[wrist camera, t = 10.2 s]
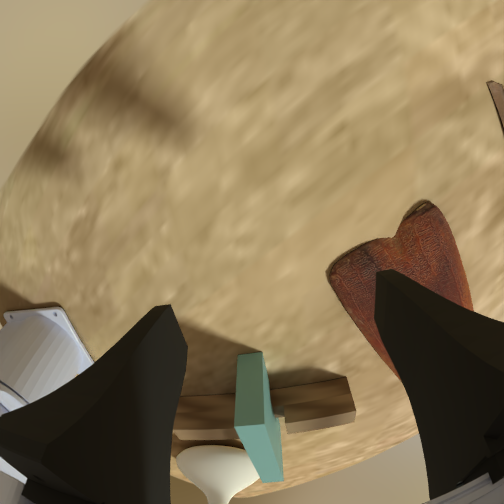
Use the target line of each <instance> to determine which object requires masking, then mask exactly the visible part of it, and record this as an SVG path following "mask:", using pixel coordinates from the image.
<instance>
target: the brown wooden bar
mask: <svg viewBox="0 0 504 504" xmlns="http://www.w3.org/2000/svg"><path fill="white" fill-rule="evenodd" d="M235 398H236V394H223V395H208V396H185V397H180V398H179V402H178V407H177V411H176V415H175V420H174V426H173V431H174V433H175V434H176V435H177V437H178V438H179V439H180V440H224V439H240V438H239V436H238V434H237V432H236V430H235V427H234V419H235ZM270 400H271V404H272V408H273V412H274V416H275V418H279V417H285V425H286V429H287V434H292V433H299V432H306V431H312V430H318V429H324V428H329V427H334V426H339V425H344V424H349V423H353V422H355V415H356V408H355V405H354V401H353V398H352V394H351V391H350V387H349V384H348V381H347V377H344V378H339V379H334V380H329V381H324V382H319V383H313V384H307V385H301V386H294V387H288V388H281V389H273V390H270Z"/></svg>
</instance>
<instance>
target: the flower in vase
mask: <svg viewBox="0 0 504 504" xmlns="http://www.w3.org/2000/svg"><path fill="white" fill-rule="evenodd" d="M176 462H177V466H178V468H179V469H180V471H181V472H182V473H183V474H184V475H185V476H186V477H187V478H188V479H189V480H190V481H191V482H192V483H194V484H195V485H196V486H197V487H198V488H200V489H201V490H202V491H203V492H204V493H205V495H206V497H207V499H208V504H228V503H229V501H230V499H231V497H233V496H234V495H235V494H236V493H238V492H239V491H241V490H243V489H244V488H246V487H248V486H249V485H251V484H252V483H254V482H255V481H256V480H258V479H259V478H260V477H259V475H258V473H257V471H256V469H255V467H254V465H253V463H252V462H251V460H250V458H249V456H248V454H247V452H246V450H243V449H239V448H235V447H229V446H219V445H203V446H195V447H190V448H187V449H185V450H183V451H182V452H181V453H180V454H178V456H177V457H176Z"/></svg>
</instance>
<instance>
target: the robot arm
mask: <svg viewBox="0 0 504 504" xmlns="http://www.w3.org/2000/svg"><path fill="white" fill-rule="evenodd" d="M4 318H5V320H6V321H7V323H6V324H5V325H4V327H3V328H2V329H1V330H0V504H171V503H170V458H171V443H172V432H173V426H174V420H175V415H176V411H177V407H178V402H179V398H180V394H181V389H182V385H183V380H184V376H185V371H186V362H187V350H188V346H187V344H186V341H185V339H184V337H183V334H182V332H181V329H180V327H179V324H178V322H177V319H176V317H175V314H174V312H173V309H172V307H171V304H170V305H161V306H155V307H154V308H152V309H151V310H150V311H149V312H148V313H147V314H146V315H145V316H144V317H143V318H142V319H141V320H139V321H138V322H137V323H136V324H135V325H134V326H133V327H132V328H131V329H130V330H129V331H128V332H127V333H126V334H125V335H124V336H123V337H122V338H121V339H120V340H119V341H118V342H117V343H116V344H115V345H114V346H113V347H111V348H110V349H109V350H108V351H107V352H106V353H105V354H104V355H103V356H102V357H101V358H99V359H98V360H97V361H96V362H95V363H94V361H93V360H92V358H91V357H90V355H89V353H88V352H87V350H86V348H85V347H84V345H83V343H82V342H81V340H80V338H79V337H78V335H77V333H76V332H75V330H74V328H73V326H72V324H71V323H70V321H69V319H68V317H67V315H66V313H65V312H64V310H63V309H62V308H61V307H51V308H41V309H30V310H20V311H8V312H5V313H4ZM374 320H375V323H376V326H377V329H378V332H379V334H380V337H381V340H382V342H383V344H384V347H385V349H386V351H387V353H388V355H389V357H390V359H391V361H392V363H393V365H394V367H395V369H396V371H397V373H398V375H399V377H400V379H401V381H402V383H403V385H404V387H405V390H406V392H407V395H408V397H409V400H410V403H411V406H412V409H413V413H414V416H415V419H416V423H417V427H418V430H419V434H420V438H421V442H422V448H423V453H424V458H425V463H426V470H427V477H428V484H429V497H430V501H428V502H425V503H423V504H504V322H501V321H497V320H494V319H491V318H489V317H486V316H483V315H481V314H479V313H476V312H474V311H471V310H469V309H467V308H464V307H462V306H460V305H458V304H456V303H454V302H452V301H450V300H448V299H446V298H444V297H442V296H441V295H439V294H437V293H435V292H433V291H431V290H430V289H428V288H426V287H424V286H423V285H421V284H419V283H417V282H416V281H414V280H412V279H411V278H409V277H407V276H405V275H403V274H402V273H400V272H398V271H396V270H394V269H388V270H383V271H378V272H376V291H375V309H374ZM76 374H79V375H78V376H76ZM75 376H76V377H75Z"/></svg>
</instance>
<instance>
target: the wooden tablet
mask: <svg viewBox="0 0 504 504" xmlns="http://www.w3.org/2000/svg"><path fill="white" fill-rule="evenodd" d="M388 269H394V270H396V271H398V272H400V273H402V274H403V275H405V276H407V277H409V278H411V279H412V280H414V281H416V282H417V283H419V284H421V285H423V286H424V287H426V288H428V289H430V290H431V291H433V292H435V293H437V294H439V295H441V296H442V297H444V298H446V299H448V300H450V301H452V302H454V303H456V304H458V305H460V306H462V307H464V308H467V309H469V310H471V311H474V310H473V305H472V299H471V295H470V290H469V285H468V282H467V278H466V274H465V271H464V268H463V265H462V261H461V258H460V254H459V251H458V248H457V246H456V242H455V239H454V237H453V235H452V232H451V229H450V227H449V224H448V223H447V221H446V219H445V217H444V216H443V214H442V212H441V211H440V210H439V208H438V207H437V206H435V205H434V204H431V203H425V204H423V205H421V206H420V207H419V208H418V209H416V210H415V211H414V212H413V213H412V214H410V215H409V216H408V217H407V218H406V219H405V220H404V221H403V222H402V223H401V224H400V226H399V228H398V230H397V232H396V235H395V236H394V237H392V238H389V237H388V238H380V239H376V240H372V241H370V242H368V243H365V244H363V245H362V246H360V247H358V248H357V249H355V250H353V251H352V252H350V253H349V254H347V255H345V256H344V257H343V258H342V259H340V260H339V261H338V262H336V263H335V265H334V266H333V268H332V271H331V273H330V281H331V285H332V286H333V288H334V290H335V291H336V293H337V295H338V297H339V298H340V300H341V302H342V304H343V306H344V307H345V309H346V310H347V312H348V313H349V315H350V316H351V317H352V319H353V320H354V322H355V323H356V324H357V326H358V328H359V329H360V330H361V332H362V333H363V335H364V336H365V337H366V339H367V340H368V342H369V343H370V344H371V345H372V347H373V348H374V349H375V350H376V352H377V353H378V354H379V356H380V357H381V358H382V359H383V361H384V362H385V363H386V364H387V365H388V366H389V367H390V369H391V370H392V371H393V372H394V373H395V375H396V376H397V377H398V378H399V379H400V377H399V375H398V373H397V371H396V369H395V367H394V365H393V363H392V361H391V359H390V357H389V355H388V353H387V351H386V349H385V347H384V344H383V342H382V340H381V337H380V334H379V332H378V329H377V326H376V323H375V320H374V309H375V291H376V272H378V271H383V270H388ZM400 380H401V379H400ZM401 382H402V381H401Z"/></svg>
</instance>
